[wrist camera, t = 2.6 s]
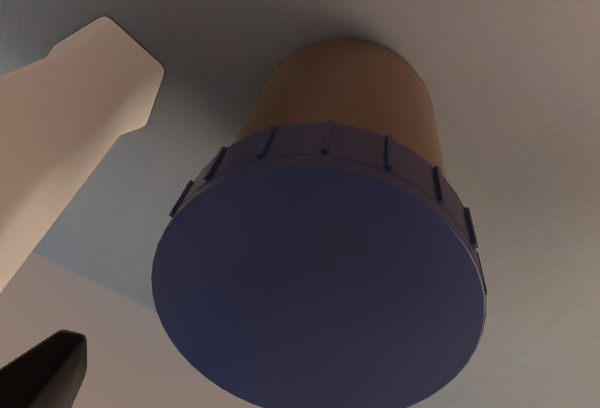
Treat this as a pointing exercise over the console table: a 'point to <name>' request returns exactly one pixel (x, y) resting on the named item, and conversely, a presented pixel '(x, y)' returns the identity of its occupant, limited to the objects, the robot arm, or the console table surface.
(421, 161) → the jar lid
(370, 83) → the jar
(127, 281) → the console table surface
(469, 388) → the console table surface
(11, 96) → the white pentagonal vase
